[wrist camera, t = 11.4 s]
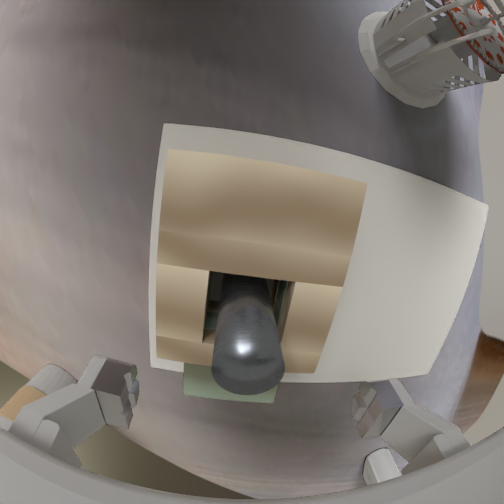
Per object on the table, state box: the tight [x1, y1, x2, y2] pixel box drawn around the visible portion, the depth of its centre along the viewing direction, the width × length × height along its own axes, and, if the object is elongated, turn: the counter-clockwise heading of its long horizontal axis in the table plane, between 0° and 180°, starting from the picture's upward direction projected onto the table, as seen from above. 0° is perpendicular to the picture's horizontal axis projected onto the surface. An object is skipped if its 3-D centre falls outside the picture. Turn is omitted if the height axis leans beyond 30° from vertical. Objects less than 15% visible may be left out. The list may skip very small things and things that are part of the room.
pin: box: [211, 273, 285, 395], centre depth 15 cm, size 3×3×10 cm
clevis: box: [156, 149, 367, 403], centre depth 18 cm, size 17×10×6 cm, turn 171°
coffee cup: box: [0, 364, 78, 431], centre depth 16 cm, size 9×9×15 cm
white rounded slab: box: [363, 448, 401, 485], centre depth 26 cm, size 10×4×12 cm, turn 14°
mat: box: [149, 123, 489, 383], centre depth 21 cm, size 20×30×1 cm, turn 81°
